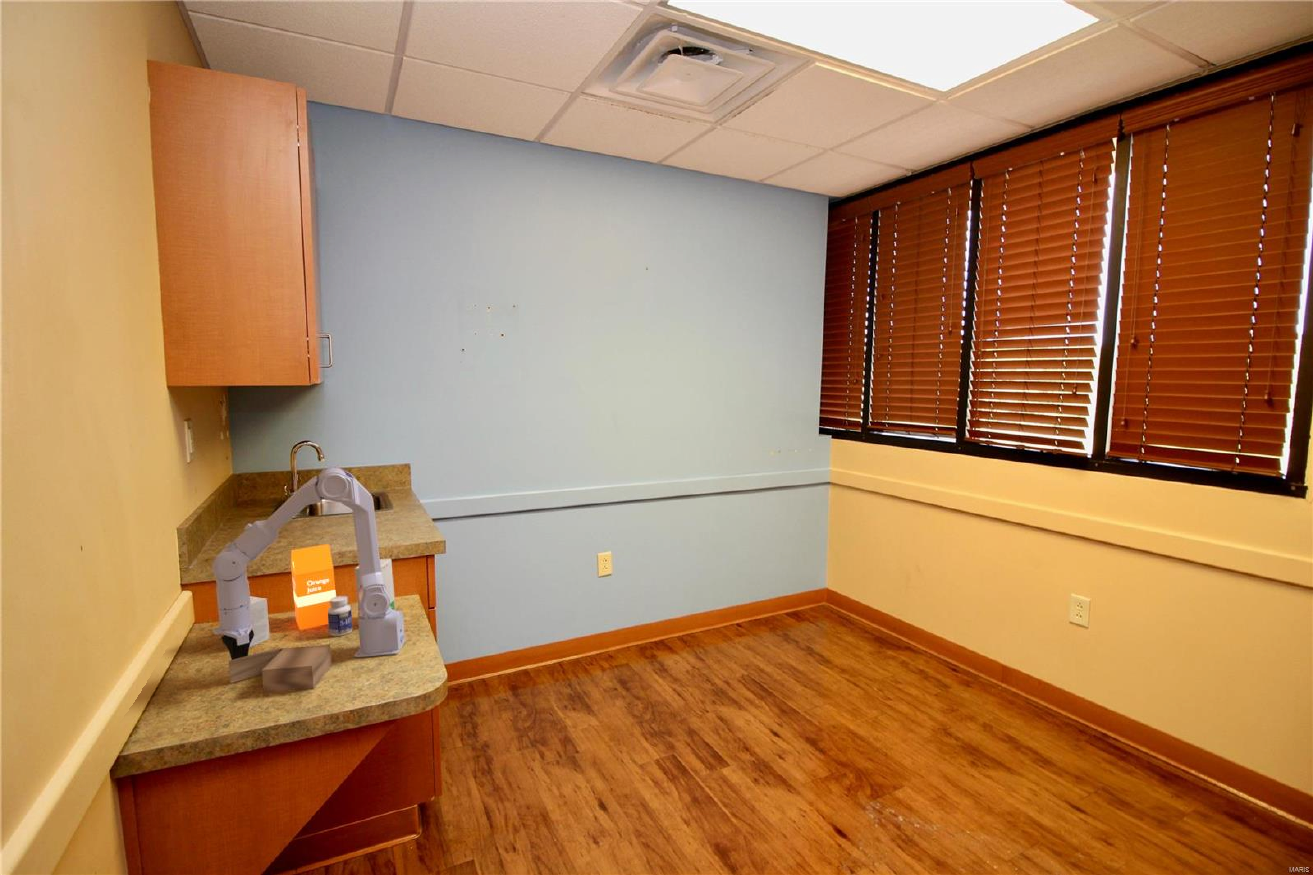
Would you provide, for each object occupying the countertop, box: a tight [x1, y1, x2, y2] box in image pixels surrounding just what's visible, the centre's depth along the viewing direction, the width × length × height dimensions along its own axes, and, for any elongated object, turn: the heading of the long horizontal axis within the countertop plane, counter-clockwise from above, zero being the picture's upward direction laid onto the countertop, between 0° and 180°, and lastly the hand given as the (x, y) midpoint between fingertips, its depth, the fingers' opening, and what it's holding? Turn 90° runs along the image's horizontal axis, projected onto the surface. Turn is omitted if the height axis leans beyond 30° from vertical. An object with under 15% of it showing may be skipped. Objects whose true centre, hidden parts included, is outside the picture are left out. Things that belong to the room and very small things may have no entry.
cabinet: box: [261, 644, 332, 694], centre depth 132 cm, size 10×10×5 cm
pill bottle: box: [327, 595, 353, 637], centre depth 155 cm, size 5×5×9 cm
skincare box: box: [354, 558, 396, 613], centre depth 162 cm, size 8×7×16 cm
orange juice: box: [290, 544, 337, 631], centre depth 162 cm, size 8×9×20 cm
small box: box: [249, 595, 271, 649], centre depth 151 cm, size 8×6×10 cm
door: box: [228, 647, 283, 684], centre depth 134 cm, size 1×10×5 cm, turn 129°
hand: (240, 666), depth 133 cm, fingers closed, pressing on door
